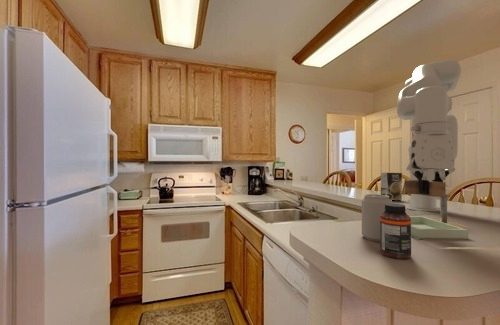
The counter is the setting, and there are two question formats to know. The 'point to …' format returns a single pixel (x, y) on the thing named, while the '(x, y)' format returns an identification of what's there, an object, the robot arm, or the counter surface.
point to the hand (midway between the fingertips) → (430, 193)
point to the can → (373, 215)
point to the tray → (435, 229)
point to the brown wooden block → (434, 188)
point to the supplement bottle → (395, 231)
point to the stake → (444, 213)
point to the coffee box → (391, 185)
